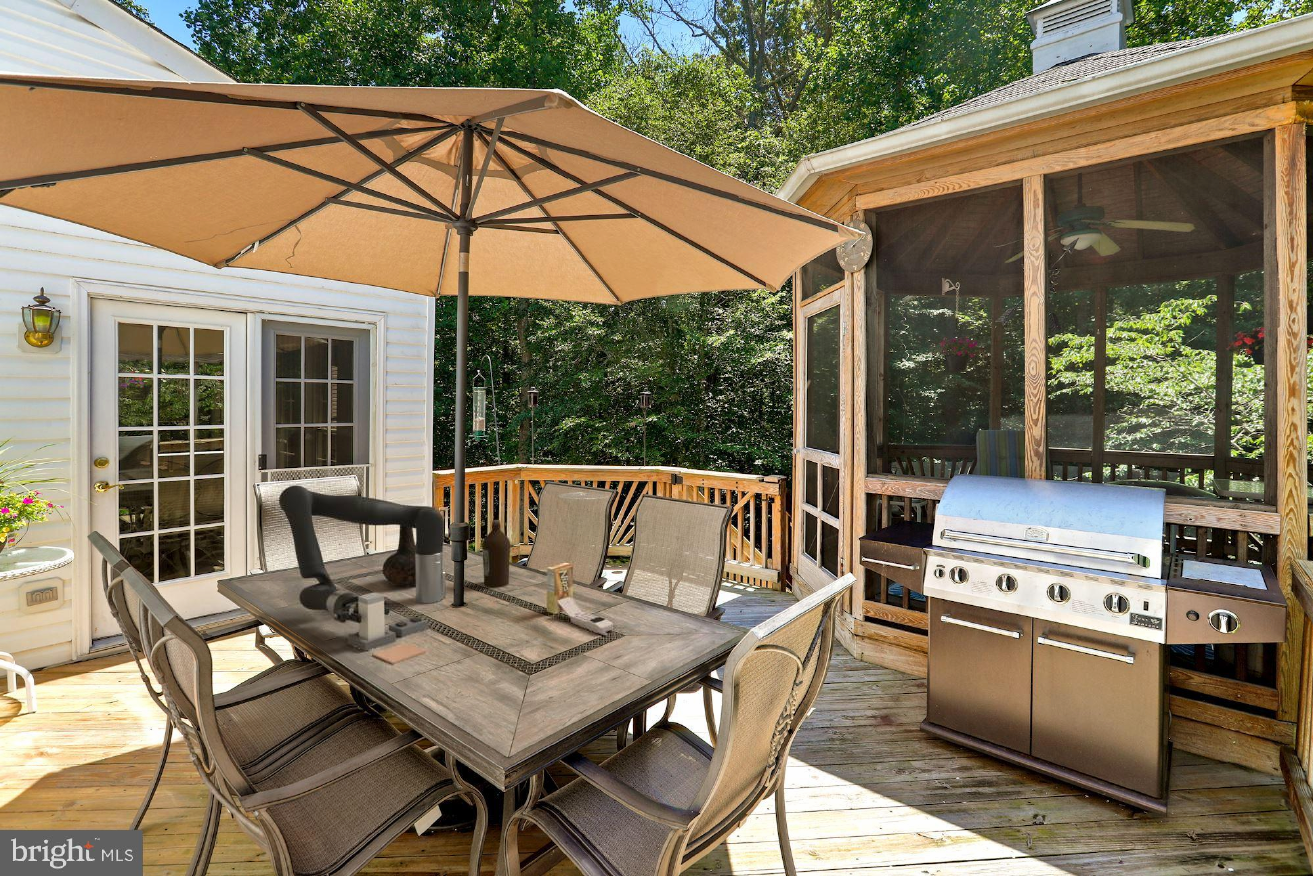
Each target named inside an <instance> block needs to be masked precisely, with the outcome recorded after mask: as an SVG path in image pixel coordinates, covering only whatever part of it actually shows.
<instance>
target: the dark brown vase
mask: <svg viewBox="0 0 1313 876" xmlns="http://www.w3.org/2000/svg"><path fill="white" fill-rule="evenodd" d="M415 546H416V540H415V538H414V528H412V527H407V526H402V525H399V537H398V545H397V549H396V552H395V553H393V554H391V555H390V556H387V558H386V559H385V561H384V562H383V565H382V574H383V576H384V578H385V579H386V580H387V581H388V582H389V583H390V584H392V585H393V586H396V587H397V586H398V587H412V586H416V565H415Z"/></svg>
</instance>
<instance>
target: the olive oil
mask: <svg viewBox="0 0 1313 876" xmlns="http://www.w3.org/2000/svg"><path fill="white" fill-rule="evenodd" d="M501 526H502V525H501V520H500V519H493V520H491V531H490V532H489V533H488V534H487V535H486V536H485V537H484V539H483V540H482V543H481V544H482V546H481V548H482V549H481V552H482V566H483V585H484V586H485V587H489V588H501V587H506V586H507V585H509V584H510V583H509V582H510V558H511V541H510V538H509V537H508V536H507V535H506V534H505V533H504V532H503V530H501V528H502V527H501Z"/></svg>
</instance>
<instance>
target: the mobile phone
mask: <svg viewBox="0 0 1313 876" xmlns="http://www.w3.org/2000/svg"><path fill="white" fill-rule="evenodd" d="M558 603H559V604H560V605H561V607H562V608H563V609H564V612H565V613H566V614H567V615H568V617H569V618H570V622H571V623H572V624H574V625H576V626H578V625H579V627H580V626H581V628H583V627H584V628H583V629H585V628H586V629H585V630H587V629H589V630H588V631H589V632H592V631H593V632H592V633H596V634H600V635H601V636H602V635H603V636H606V637H607V636H608V633H607V632H609V631H612V630H613V628H614V627H613V626H614V624H613V622H612V621H610V620H608V619H607V618H604V617H602V616H596V615H594V614H592V613H588V612H585V611H583V610H582V609H581V608H580V606H579V605H578V604H577V602H576V601H575V599H574V597H573V598H572V597H568V598H564V599H561V600H558Z"/></svg>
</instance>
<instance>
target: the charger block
mask: <svg viewBox="0 0 1313 876" xmlns="http://www.w3.org/2000/svg"><path fill="white" fill-rule="evenodd" d="M384 601H385V595H384V594H381V593H378V592H371V593H367V594H363V595H359V597H358V604H359V615H361V623H358V632H359V638H362V639H364V640H367V641H368V640H371V639H374V638H377V637H380V636H383V635H385V629H386V627H385V615H384Z"/></svg>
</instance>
